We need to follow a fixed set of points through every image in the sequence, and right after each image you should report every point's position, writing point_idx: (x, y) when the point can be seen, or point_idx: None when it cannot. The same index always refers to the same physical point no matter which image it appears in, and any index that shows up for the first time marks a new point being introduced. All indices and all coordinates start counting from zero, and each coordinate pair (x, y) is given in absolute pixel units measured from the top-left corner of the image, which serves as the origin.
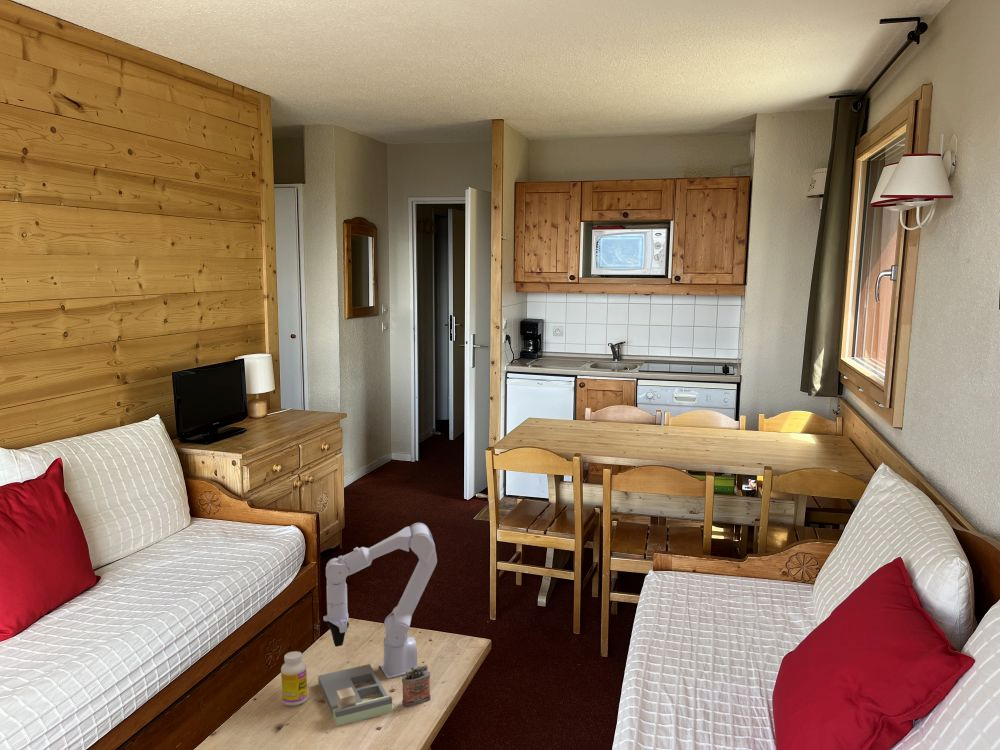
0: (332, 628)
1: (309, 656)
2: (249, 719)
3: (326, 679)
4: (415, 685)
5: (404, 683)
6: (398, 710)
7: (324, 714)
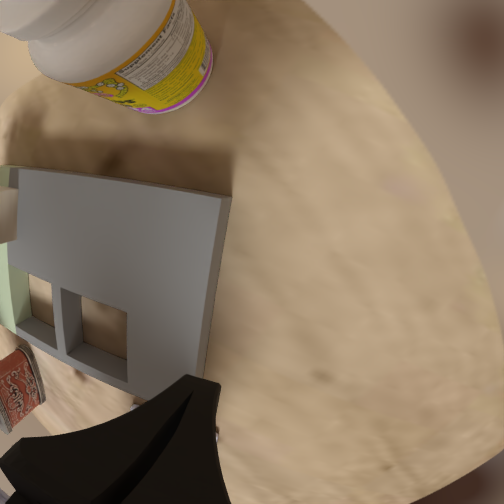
0: (4, 454)
1: (471, 266)
2: None
3: (166, 220)
4: None
5: None
6: None
7: (52, 148)
